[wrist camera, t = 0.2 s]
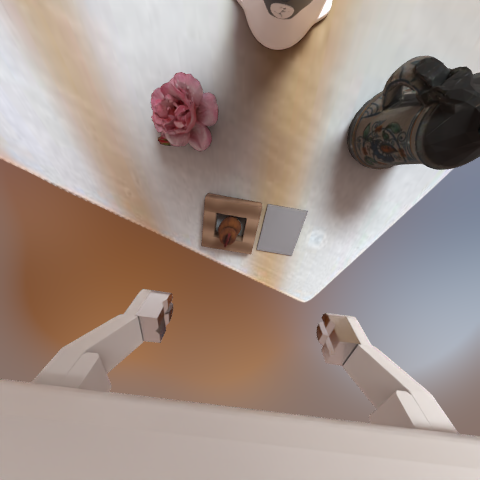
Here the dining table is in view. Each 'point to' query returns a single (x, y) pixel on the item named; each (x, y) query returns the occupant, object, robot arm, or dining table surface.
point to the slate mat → (281, 229)
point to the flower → (184, 112)
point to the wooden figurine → (229, 230)
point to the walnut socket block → (233, 208)
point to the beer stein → (420, 118)
